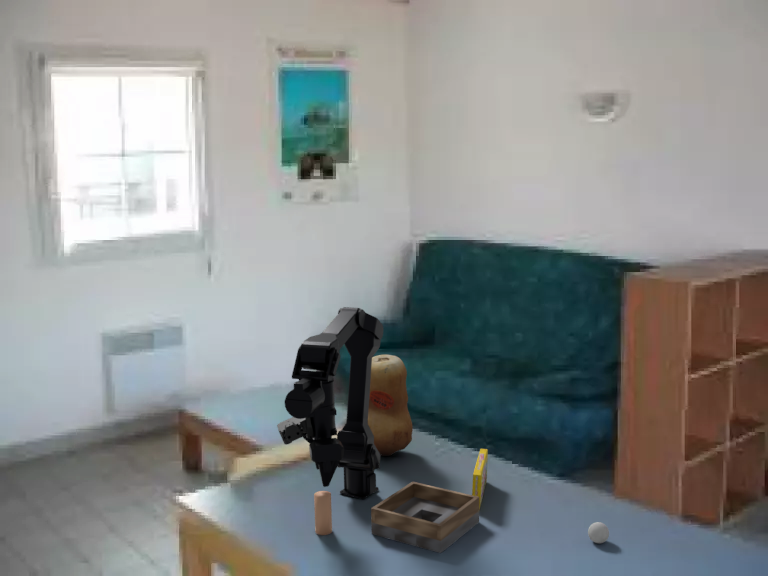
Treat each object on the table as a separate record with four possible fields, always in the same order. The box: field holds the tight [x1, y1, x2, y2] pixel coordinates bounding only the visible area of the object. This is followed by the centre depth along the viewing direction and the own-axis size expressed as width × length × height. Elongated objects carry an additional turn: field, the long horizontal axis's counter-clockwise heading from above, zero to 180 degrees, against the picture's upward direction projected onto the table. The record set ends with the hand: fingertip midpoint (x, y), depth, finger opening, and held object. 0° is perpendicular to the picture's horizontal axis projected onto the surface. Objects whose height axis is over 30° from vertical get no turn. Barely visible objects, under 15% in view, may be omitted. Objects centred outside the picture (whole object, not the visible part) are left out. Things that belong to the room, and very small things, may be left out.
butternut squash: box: [368, 354, 414, 457], centre depth 225 cm, size 14×13×25 cm
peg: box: [313, 490, 333, 536], centre depth 184 cm, size 3×3×8 cm
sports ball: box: [587, 521, 610, 544], centre depth 178 cm, size 4×4×4 cm
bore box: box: [370, 481, 480, 554], centre depth 185 cm, size 16×16×6 cm
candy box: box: [471, 448, 489, 511], centre depth 200 cm, size 16×2×8 cm, turn 168°
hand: (322, 477), depth 183 cm, fingers open, 9 cm apart
